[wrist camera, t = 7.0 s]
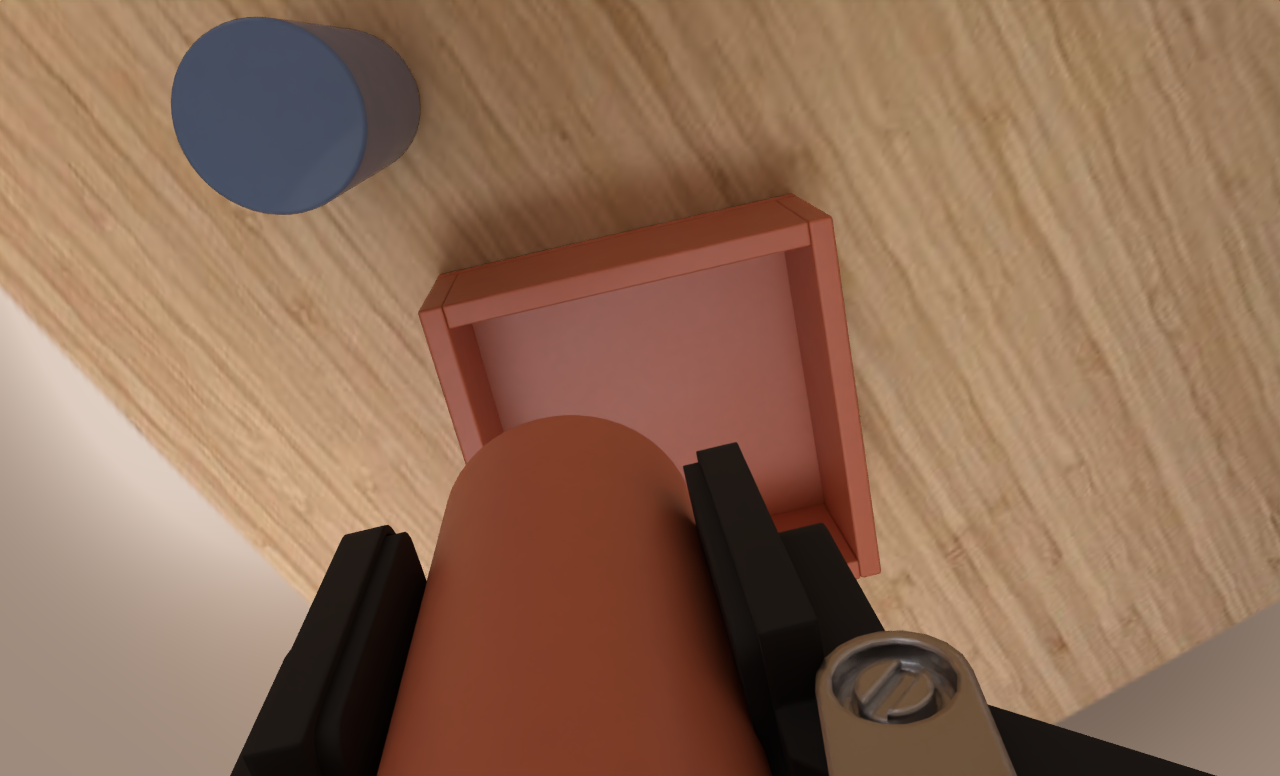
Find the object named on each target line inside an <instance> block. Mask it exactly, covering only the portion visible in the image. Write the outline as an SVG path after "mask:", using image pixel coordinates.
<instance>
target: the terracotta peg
mask: <svg viewBox="0 0 1280 776" xmlns="http://www.w3.org/2000/svg"><path fill="white" fill-rule="evenodd" d="M377 776H772V773H771V769H770V766H769V763H768V760H767V756H766V753H765V751H764V749H763V747H762V745H761V743H760V741H759V739H758V737H757V735H756V733H755V731H754V727H753V724H752V720H751V717H750V713H749V710H748V706H747V703H746V699H745V696H744V692H743V689H742V685H741V681H740V678H739V674H738V671H737V667H736V664H735V660H734V657H733V653H732V650H731V646H730V643H729V639H728V636H727V632H726V629H725V625H724V622H723V618H722V615H721V611H720V608H719V604H718V601H717V597H716V594H715V590H714V587H713V583H712V580H711V576H710V573H709V569H708V566H707V562H706V559H705V555H704V552H703V548H702V545H701V541H700V538H699V534H698V531H697V527H696V523H695V519H694V514H693V510H692V505H691V501H690V497H689V492H688V488H687V485H686V483H685V481H684V479H683V477H682V475H681V473H680V472H679V470H678V469H677V467H676V466H675V464H674V463H673V461H672V460H671V459H670V458H669V457H668V456H667V455H666V454H665V452H664V451H663V450H662V449H660V448H659V447H658V446H657V445H656V444H655V443H653V442H652V441H651V440H650V439H648V438H646V437H645V436H643V435H642V434H640V433H639V432H637V431H635V430H633V429H631V428H629V427H627V426H624V425H622V424H619V423H616V422H613V421H610V420H607V419H602V418H597V417H592V416H581V415H561V416H551V417H546V418H540V419H536V420H533V421H530V422H526V423H523V424H521V425H518V426H516V427H514V428H512V429H509V430H507V431H505V432H504V433H502V434H500V435H499V436H497V437H496V438H494V439H492V440H491V441H490V442H489V443H487V444H486V445H485V446H484V447H482V448H481V449H480V450H479V451H478V452H477V453H476V454H475V455H474V456H473V457H472V458H471V459H470V460H469V462H468V463H467V464H466V466H465V467H464V468H463V470H462V471H461V473H460V474H459V476H458V478H457V480H456V482H455V484H454V486H453V487H452V490H451V493H450V496H449V499H448V502H447V505H446V509H445V513H444V517H443V521H442V525H441V529H440V533H439V536H438V540H437V544H436V548H435V552H434V556H433V560H432V564H431V567H430V571H429V575H428V579H427V583H426V587H425V591H424V594H423V598H422V602H421V606H420V610H419V614H418V618H417V622H416V625H415V629H414V633H413V637H412V641H411V645H410V649H409V652H408V656H407V660H406V664H405V668H404V672H403V676H402V680H401V683H400V687H399V691H398V695H397V699H396V703H395V707H394V710H393V714H392V718H391V722H390V726H389V730H388V734H387V738H386V741H385V745H384V749H383V753H382V757H381V761H380V765H379V768H378V772H377Z"/></svg>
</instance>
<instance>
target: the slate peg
mask: <svg viewBox="0 0 1280 776" xmlns="http://www.w3.org/2000/svg"><path fill="white" fill-rule="evenodd" d="M171 112H172V119H173V125H174V129H175V132H176V135H177V139H178V141H179V144H180V146H181V148H182V150H183V152H184V154H185V156H186V158H187V159H188V161H189V162H190V164H191V166H192V167H193V168H194V169H195V171H196V172H197V173H198V175H199V176H200V177H201V178H202V179H203V180H204V181H205V182H206V183H207V184H208V185H209V186H210V187H212V188H213V189H214V190H215V191H217V192H218V193H219V194H221V195H222V196H224V197H225V198H227V199H228V200H230V201H232V202H234V203H236V204H238V205H240V206H242V207H245V208H248V209H250V210H253V211H257V212H262V213H266V214H275V215H291V214H298V213H304V212H307V211H310V210H313V209H316V208H318V207H320V206H322V205H325V204H326V203H328V202H330V201H331V200H333V199H335V198H336V197H338V196H339V195H341V194H343V193H344V192H346V191H348V190H349V189H351V188H353V187H354V186H356V185H357V184H359V183H361V182H362V181H364V180H366V179H367V178H369V177H370V176H372V175H374V174H375V173H377V172H379V171H380V170H382V169H384V168H385V167H387V166H388V165H390V164H391V163H393V162H395V161H396V160H397V159H398V158H399V157H400V156H402V155H403V153H404V152H405V151H406V150H407V149H408V147H409V146H410V144H411V142H412V141H413V139H414V136H415V134H416V131H417V128H418V125H419V119H420V98H419V93H418V88H417V85H416V82H415V80H414V77H413V75H412V73H411V71H410V69H409V68H408V66H407V65H406V63H405V62H404V60H403V59H402V58H401V57H400V56H399V54H398V53H397V52H396V51H394V50H393V49H392V48H391V47H390V46H389V45H387V44H386V43H385V42H383V41H382V40H380V39H378V38H376V37H374V36H372V35H370V34H367V33H365V32H361V31H357V30H352V29H345V28H338V27H331V26H324V25H317V24H310V23H303V22H296V21H289V20H282V19H275V18H266V17H246V18H240V19H235V20H232V21H228V22H225V23H222V24H220V25H218V26H216V27H214V28H212V29H211V30H209V31H208V32H206V33H205V34H203V35H202V36H201V37H200V38H199V39H198V40H197V41H196V42H195V43H193V45H192V46H191V47H190V48H189V50H188V51H187V52H186V54H185V55H184V57H183V59H182V61H181V62H180V64H179V67H178V69H177V72H176V74H175V77H174V82H173V87H172V95H171Z"/></svg>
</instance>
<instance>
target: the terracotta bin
mask: <svg viewBox="0 0 1280 776" xmlns="http://www.w3.org/2000/svg"><path fill="white" fill-rule="evenodd" d="M418 315H419V318H420V321H421V324H422V327H423V331H424V334H425V337H426V340H427V343H428V346H429V350H430V353H431V356H432V359H433V362H434V365H435V369H436V372H437V375H438V378H439V381H440V384H441V388H442V391H443V394H444V397H445V400H446V403H447V407H448V410H449V413H450V416H451V419H452V423H453V426H454V429H455V432H456V435H457V438H458V442H459V445H460V448H461V451H462V454H463V457H464V461H465V464H467V463H468V462H469V460H470V459H471V458H472V457H473V456H474V455H475V454H476V453H477V452H478V451H479V450H480V449H481V448H482V447H484V446H485V445H486V444H487V443H489V442H490V441H491V440H492V439H494V438H496V437H497V436H499V435H500V434H502V433H504V432H505V431H507V430H509V429H512V428H514V427H516V426H518V425H521V424H523V423H526V422H530V421H533V420H536V419H540V418H546V417H551V416H561V415H581V416H592V417H597V418H602V419H607V420H610V421H613V422H616V423H619V424H622V425H624V426H627V427H629V428H631V429H633V430H635V431H637V432H639V433H640V434H642V435H643V436H645V437H646V438H648V439H650V440H651V441H652V442H653V443H655V444H656V445H657V446H658V447H659V448H660V449H662V450H663V451H664V452H665V454H666V455H667V456H668V457H669V458H670V459H671V460H672V461H673V463H674V464H675V466H676V467H677V469H678V470H679V472H680V473H681V475H682V477H683V479H684V481H685V483H686V479H685V474H684V470H683V466H684V465H688V464H693V463H697V462H698V460H697V455H696V451H700V450H704V449H708V448H713V447H717V446H721V445H725V444H729V443H734V442H737V443H738V445H739V447H740V449H741V452H742V454H743V456H744V458H745V460H746V463H747V465H748V467H749V469H750V471H751V474H752V476H753V478H754V480H755V482H756V485H757V487H758V489H759V491H760V493H761V496H762V498H763V500H764V502H765V504H766V507H767V509H768V511H769V513H770V516H771V518H772V520H773V522H774V524H775V527H776V529H777V531H778V533H779V532H783V531H787V530H792V529H796V528H800V527H804V526H808V525H813V524H817V523H824V524H825V526H826V527H827V529H828V530H829V532H830V534H831V536H832V538H833V539H834V541H835V543H836V545H837V546H838V548H839V550H840V552H841V554H842V555H843V557H844V559H845V561H846V562H847V564H848V566H849V568H850V570H851V571H852V573H853V575H854V577H855V578H856V579H859V578H860V576H861V577H867V576H871V575H876V574H880V573H881V567H880V559H879V552H878V545H877V538H876V530H875V523H874V516H873V509H872V502H871V494H870V487H869V480H868V473H867V465H866V458H865V451H864V444H863V437H862V429H861V422H860V415H859V408H858V400H857V393H856V386H855V379H854V371H853V364H852V357H851V350H850V343H849V335H848V328H847V321H846V314H845V306H844V299H843V292H842V285H841V278H840V270H839V263H838V256H837V249H836V241H835V234H834V227H833V220H832V217H831V216H829V215H828V214H826V213H824V212H823V211H821V210H819V209H817V208H816V207H814V206H812V205H811V204H809V203H807V202H805V201H804V200H802V199H800V198H799V197H796V196H795V195H794V194H787V195H783V196H778V197H774V198H770V199H765V200H761V201H757V202H752V203H748V204H744V205H739V206H735V207H731V208H726V209H722V210H718V211H713V212H709V213H705V214H700V215H696V216H692V217H687V218H683V219H679V220H674V221H670V222H666V223H661V224H657V225H653V226H648V227H644V228H640V229H635V230H631V231H627V232H622V233H618V234H614V235H609V236H605V237H601V238H596V239H592V240H588V241H583V242H579V243H575V244H570V245H566V246H562V247H557V248H553V249H549V250H544V251H540V252H536V253H531V254H527V255H523V256H518V257H514V258H510V259H505V260H501V261H497V262H493V263H488V264H484V265H480V266H475V267H471V268H467V269H462V270H458V271H454V272H449V273H445V274H441V275H439V276H438V278H437V280H436V282H435V284H434V285H433V287H432V289H431V291H430V292H429V294H428V296H427V298H426V300H425V301H424V303H423V305H422V307H421V308H420V310H419V312H418ZM686 485H687V483H686Z"/></svg>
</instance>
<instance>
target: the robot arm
mask: <svg viewBox="0 0 1280 776" xmlns="http://www.w3.org/2000/svg"><path fill="white" fill-rule="evenodd" d="M696 455H697V460H698V462H697V463H693V464H688V465H684V466H683V470H684V474H685V479H686V483H687V488H688V492H689V497H690V501H691V505H692V510H693V514H694V519H695V523H696V527H697V531H698V534H699V538H700V541H701V545H702V548H703V552H704V555H705V559H706V562H707V566H708V569H709V573H710V576H711V580H712V583H713V587H714V590H715V594H716V597H717V601H718V604H719V608H720V611H721V615H722V618H723V622H724V625H725V629H726V632H727V636H728V639H729V643H730V646H731V650H732V653H733V657H734V660H735V664H736V667H737V671H738V674H739V678H740V681H741V685H742V689H743V692H744V696H745V699H746V703H747V706H748V710H749V713H750V717H751V720H752V724H753V727H754V731H755V733H756V735H757V737H758V739H759V741H760V743H761V745H762V747H763V749H764V751H765V753H766V756H767V760H768V763H769V766H770V769H771V773H772V776H1215V775H1212V774H1208V773H1206V772H1202V771H1199V770H1196V769H1193V768H1190V767H1187V766H1183V765H1180V764H1177V763H1173V762H1170V761H1167V760H1164V759H1161V758H1158V757H1154V756H1151V755H1148V754H1145V753H1141V752H1138V751H1135V750H1132V749H1129V748H1126V747H1122V746H1119V745H1116V744H1113V743H1109V742H1106V741H1103V740H1100V739H1097V738H1093V737H1090V736H1087V735H1084V734H1081V733H1077V732H1074V731H1071V730H1068V729H1065V728H1061V727H1058V726H1055V725H1052V724H1048V723H1045V722H1042V721H1039V720H1036V719H1032V718H1029V717H1026V716H1023V715H1020V714H1016V713H1013V712H1010V711H1007V710H1004V709H1000V708H997V707H994V706H991V705H988V704H987V702H986V700H985V697H984V695H983V692H982V690H981V688H980V685H979V683H978V680H977V678H976V676H975V673H974V671H973V669H972V667H971V666H970V664H969V663H968V661H967V660H966V659H965V657H964V656H963V654H962V653H960V652H959V651H957V650H956V649H955V648H953V647H952V646H951V645H949V644H948V643H947V642H944V641H942V640H939V639H937V638H934V637H932V636H929V635H926V634H922V633H915V632H909V631H903V630H902V631H885V630H884V628H883V626H882V625H881V623H880V621H879V619H878V618H877V616H876V614H875V612H874V610H873V609H872V607H871V605H870V603H869V602H868V600H867V598H866V596H865V594H864V593H863V591H862V589H861V587H860V586H859V584H858V582H857V580H856V578H855V577H854V575H853V573H852V571H851V570H850V568H849V566H848V564H847V562H846V561H845V559H844V557H843V555H842V554H841V552H840V550H839V548H838V546H837V545H836V543H835V541H834V539H833V538H832V536H831V534H830V532H829V530H828V529H827V527H826V526H825V524H824V523H817V524H813V525H808V526H804V527H800V528H796V529H792V530H787V531H783V532H779V533H778V531H777V529H776V527H775V524H774V522H773V520H772V518H771V516H770V513H769V511H768V509H767V507H766V504H765V502H764V500H763V498H762V496H761V493H760V491H759V489H758V487H757V485H756V482H755V480H754V478H753V476H752V474H751V471H750V469H749V467H748V465H747V463H746V460H745V458H744V456H743V454H742V452H741V449H740V447H739V445H738V443H737V442H734V443H729V444H725V445H721V446H717V447H713V448H708V449H704V450H700V451H696ZM426 583H427V581H426V578H425V575H424V572H423V570H422V567H421V564H420V561H419V558H418V556H417V553H416V550H415V547H414V544H413V542H412V540H411V538H410V536H409V534H408V533H406V532H402V533H398V534H396V533H395V532H394V530H393V529H392V527H390V526H389V525H384V526H380V527H376V528H372V529H368V530H363V531H359V532H355V533H351V534H347V535H344V537H343V538H342V540H341V542H340V544H339V546H338V548H337V551H336V553H335V555H334V557H333V559H332V561H331V564H330V566H329V568H328V570H327V572H326V575H325V577H324V579H323V581H322V583H321V585H320V588H319V590H318V592H317V594H316V596H315V598H314V601H313V603H312V605H311V607H310V609H309V612H308V614H307V616H306V618H305V620H304V622H303V625H302V627H301V629H300V632H299V633H298V636H297V638H296V640H295V642H294V644H293V646H292V649H291V650H290V651H289V653H288V654H287V655H286V657H285V659H284V661H283V663H282V665H281V667H280V670H279V671H278V674H277V676H276V678H275V680H274V682H273V685H272V687H271V689H270V691H269V693H268V695H267V697H266V700H265V702H264V704H263V706H262V708H261V710H260V713H259V715H258V717H257V719H256V721H255V723H254V725H253V728H252V730H251V732H250V734H249V736H248V739H247V741H246V743H245V745H244V747H243V749H242V752H241V754H240V756H239V758H238V760H237V762H236V764H235V767H234V769H233V771H232V773H231V775H230V776H377V772H378V768H379V765H380V761H381V757H382V753H383V749H384V745H385V741H386V738H387V734H388V730H389V726H390V722H391V718H392V714H393V710H394V707H395V703H396V699H397V695H398V691H399V687H400V683H401V680H402V676H403V672H404V668H405V664H406V660H407V656H408V652H409V649H410V645H411V641H412V637H413V633H414V629H415V625H416V622H417V618H418V614H419V610H420V606H421V602H422V598H423V594H424V591H425V587H426Z"/></svg>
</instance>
